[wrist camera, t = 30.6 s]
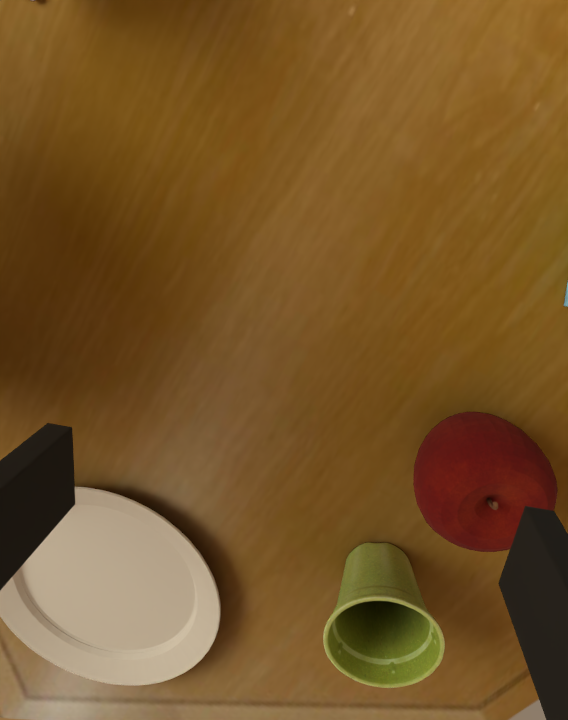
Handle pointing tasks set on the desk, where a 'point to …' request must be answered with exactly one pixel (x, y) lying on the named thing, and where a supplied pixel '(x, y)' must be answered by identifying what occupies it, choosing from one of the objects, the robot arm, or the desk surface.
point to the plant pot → (382, 621)
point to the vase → (566, 297)
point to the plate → (114, 594)
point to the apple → (480, 480)
